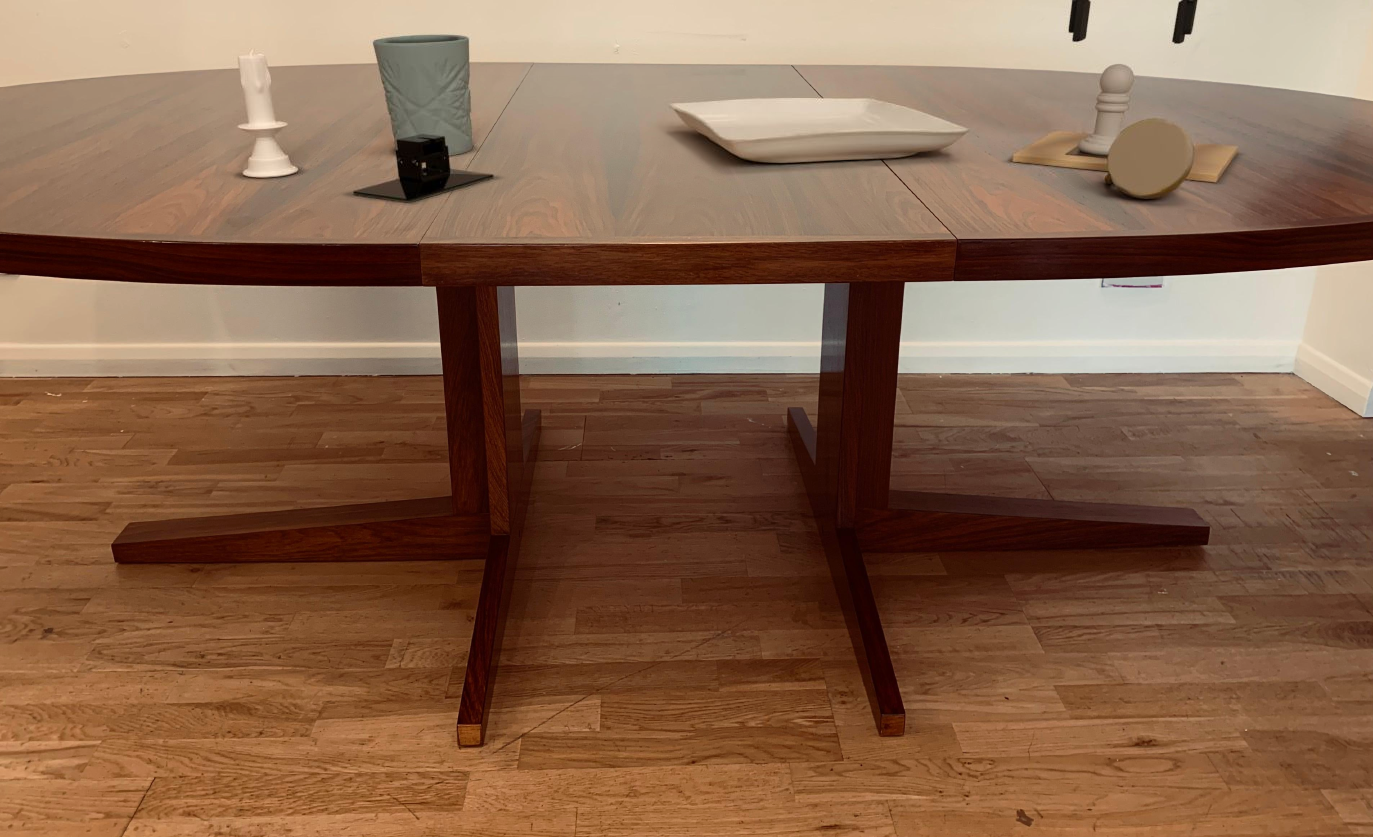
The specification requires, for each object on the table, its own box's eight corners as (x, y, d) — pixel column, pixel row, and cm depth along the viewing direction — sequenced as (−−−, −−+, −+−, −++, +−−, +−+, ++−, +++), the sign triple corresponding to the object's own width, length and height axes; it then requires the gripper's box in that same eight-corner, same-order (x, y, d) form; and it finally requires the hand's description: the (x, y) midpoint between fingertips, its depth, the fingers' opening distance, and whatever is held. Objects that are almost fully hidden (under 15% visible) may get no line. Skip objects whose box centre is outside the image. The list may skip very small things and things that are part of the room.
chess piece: (1137, 151, 109) (1153, 63, 106) (1118, 158, 106) (1135, 67, 102) (1088, 145, 113) (1102, 60, 109) (1069, 152, 109) (1082, 64, 105)
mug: (1196, 187, 98) (1231, 102, 90) (1151, 248, 94) (1183, 165, 86) (1123, 159, 101) (1150, 75, 93) (1076, 216, 98) (1100, 134, 89)
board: (1236, 153, 113) (1238, 145, 113) (1216, 182, 99) (1218, 173, 99) (1053, 137, 123) (1055, 129, 122) (1012, 161, 109) (1013, 153, 109)
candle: (300, 166, 107) (281, 45, 102) (295, 176, 102) (275, 50, 97) (246, 168, 106) (224, 47, 101) (239, 179, 101) (215, 52, 96)
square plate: (970, 162, 109) (974, 125, 107) (725, 174, 103) (725, 135, 101) (869, 123, 133) (872, 92, 131) (666, 131, 127) (666, 98, 125)
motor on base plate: (409, 204, 92) (402, 152, 90) (350, 195, 95) (342, 145, 93) (494, 177, 102) (490, 130, 100) (438, 170, 105) (433, 124, 103)
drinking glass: (496, 149, 116) (487, 37, 111) (423, 162, 109) (410, 43, 104) (441, 139, 122) (430, 32, 117) (368, 151, 115) (353, 38, 110)
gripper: (1053, -145, 99) (1032, 42, 106) (1252, -158, 90) (1215, 46, 97) (1071, -139, 104) (1050, 37, 111) (1260, -152, 96) (1224, 40, 103)
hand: (1127, 41), depth 104 cm, fingers open, 9 cm apart
